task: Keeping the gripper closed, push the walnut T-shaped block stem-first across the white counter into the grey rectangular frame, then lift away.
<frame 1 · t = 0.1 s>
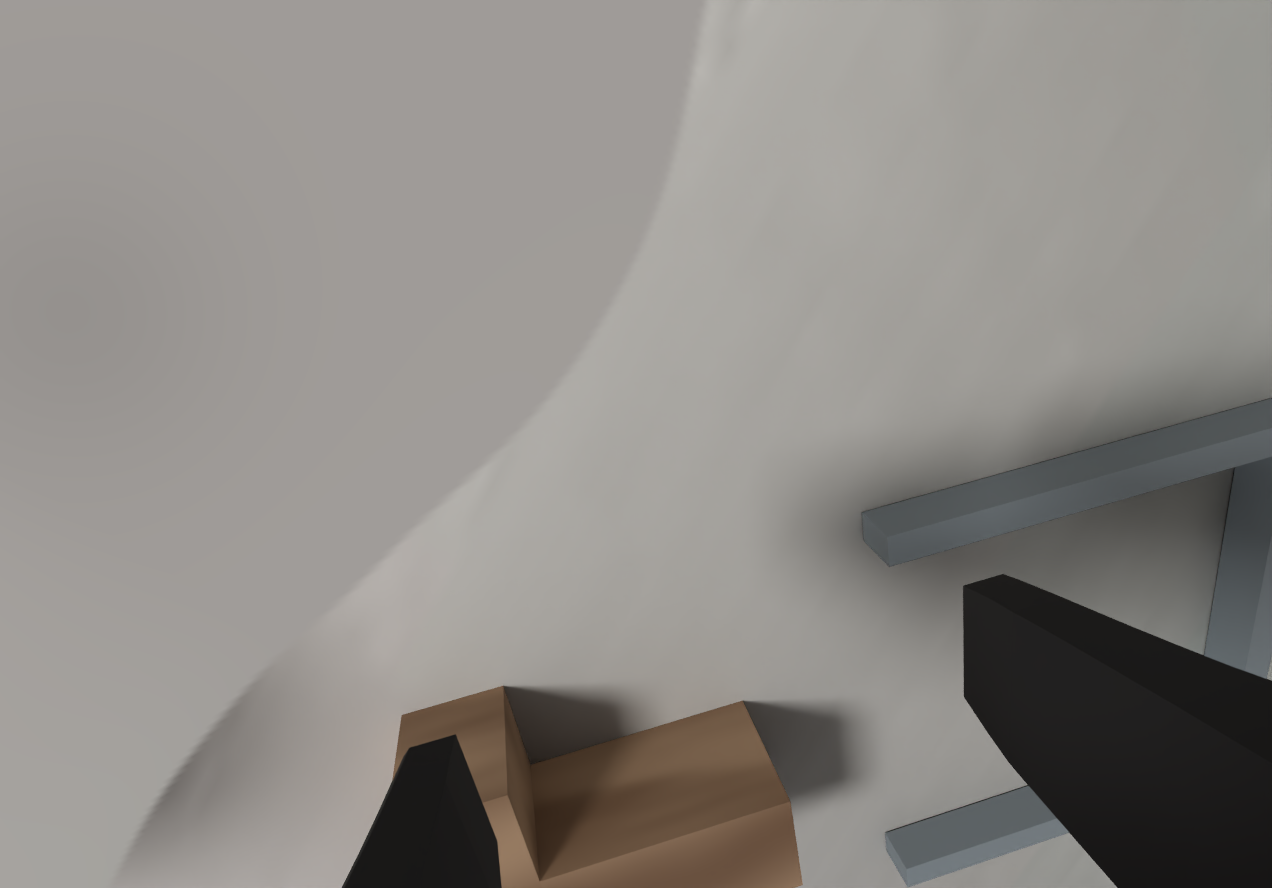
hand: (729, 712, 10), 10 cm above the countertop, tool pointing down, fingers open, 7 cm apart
t block: (603, 784, 24), on the countertop
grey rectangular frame: (1049, 648, 25), on the countertop
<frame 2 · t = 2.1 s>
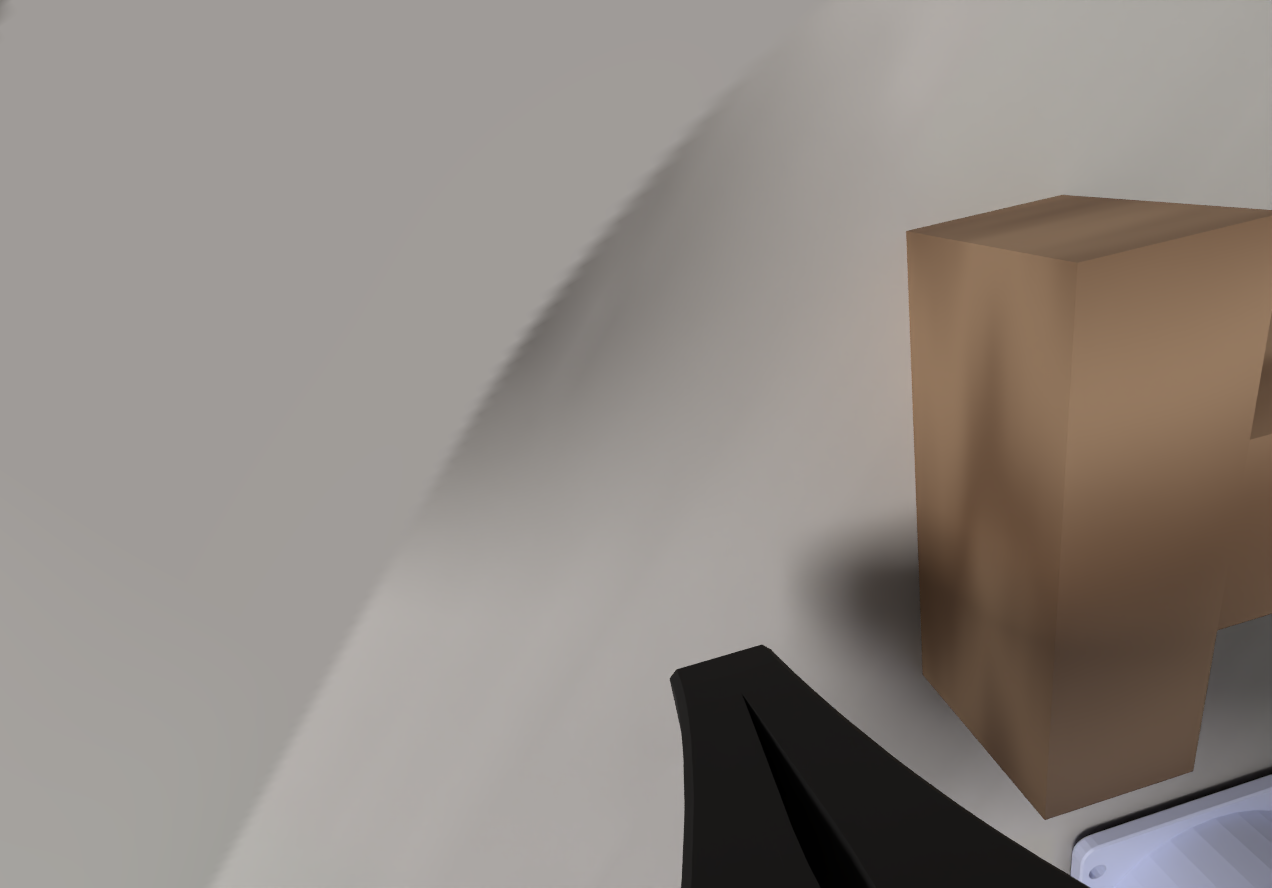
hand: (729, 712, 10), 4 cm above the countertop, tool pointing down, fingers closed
t block: (1136, 422, 15), on the countertop
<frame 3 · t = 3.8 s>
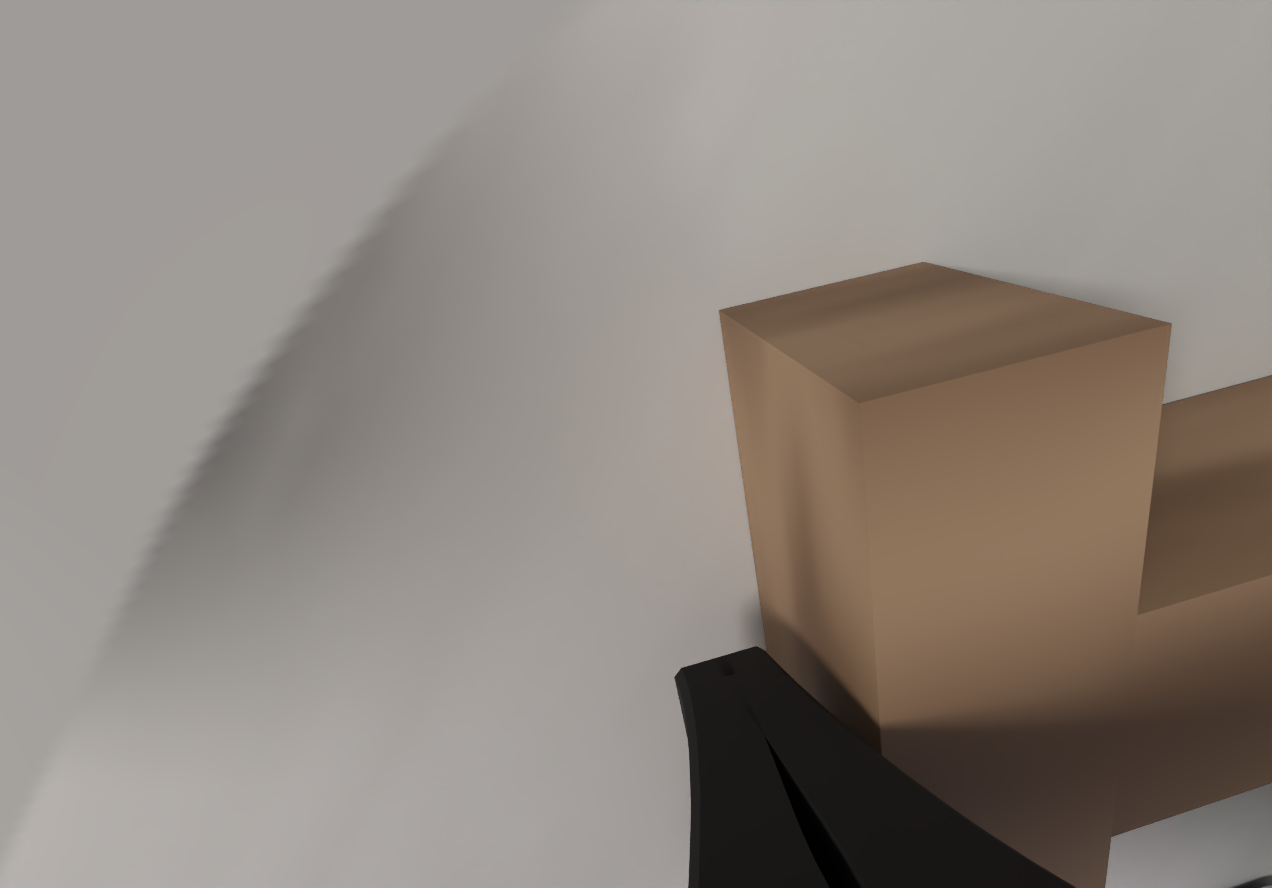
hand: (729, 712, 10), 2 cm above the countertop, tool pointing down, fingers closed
t block: (1038, 529, 12), on the countertop, touching gripper
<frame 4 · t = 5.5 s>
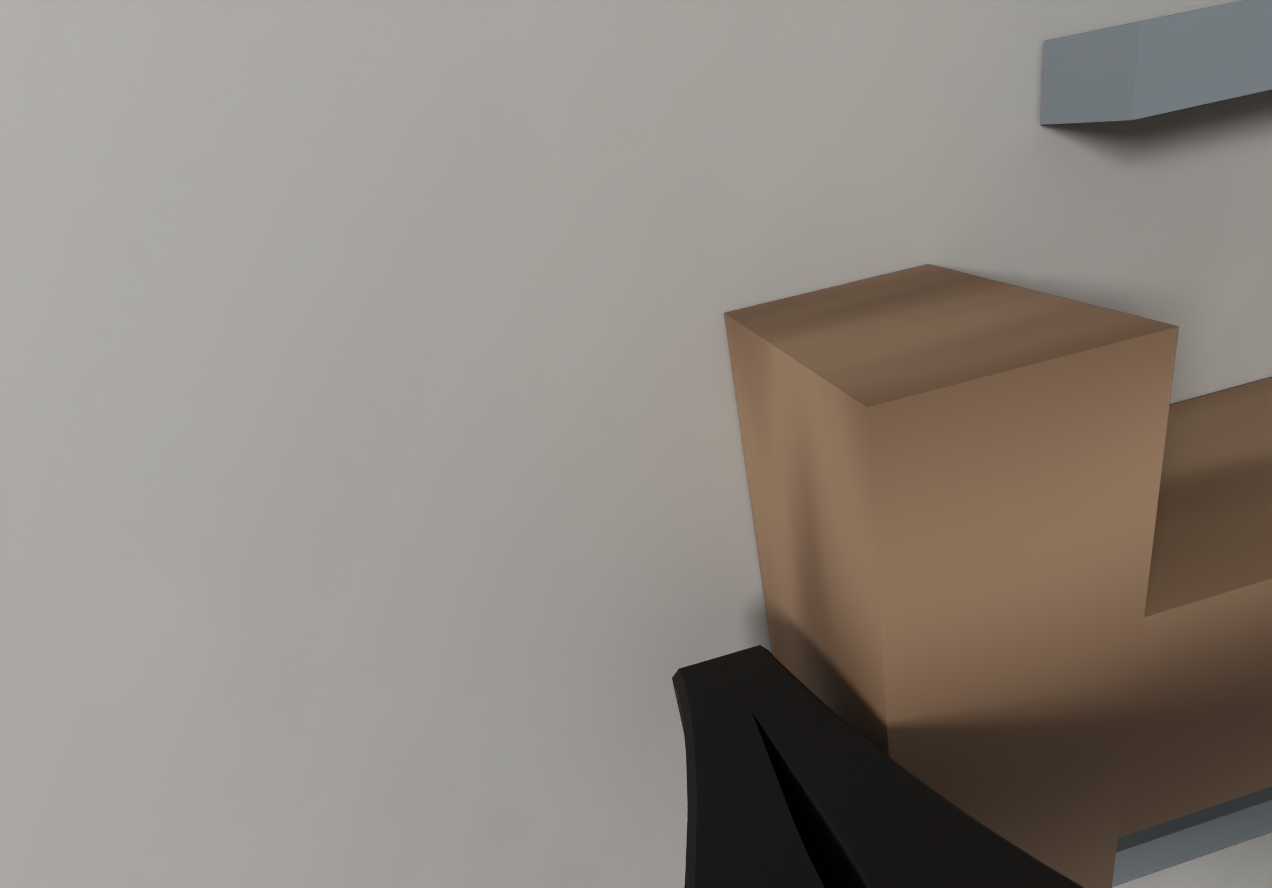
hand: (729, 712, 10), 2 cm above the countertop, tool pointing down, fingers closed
t block: (1043, 530, 12), on the countertop, touching gripper
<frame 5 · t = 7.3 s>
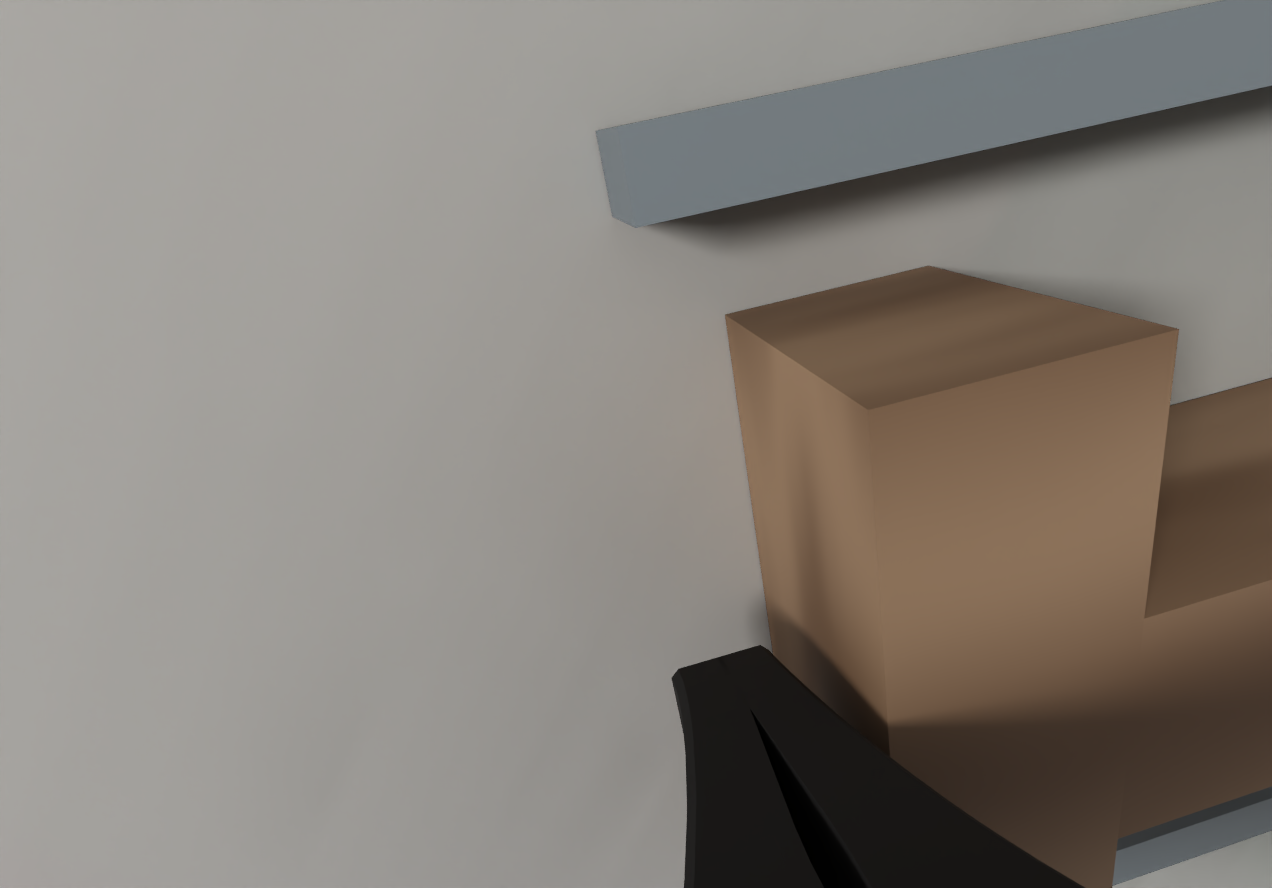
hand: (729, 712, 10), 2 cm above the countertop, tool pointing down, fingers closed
t block: (1043, 531, 12), on the countertop, touching gripper
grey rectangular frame: (1056, 525, 12), on the countertop
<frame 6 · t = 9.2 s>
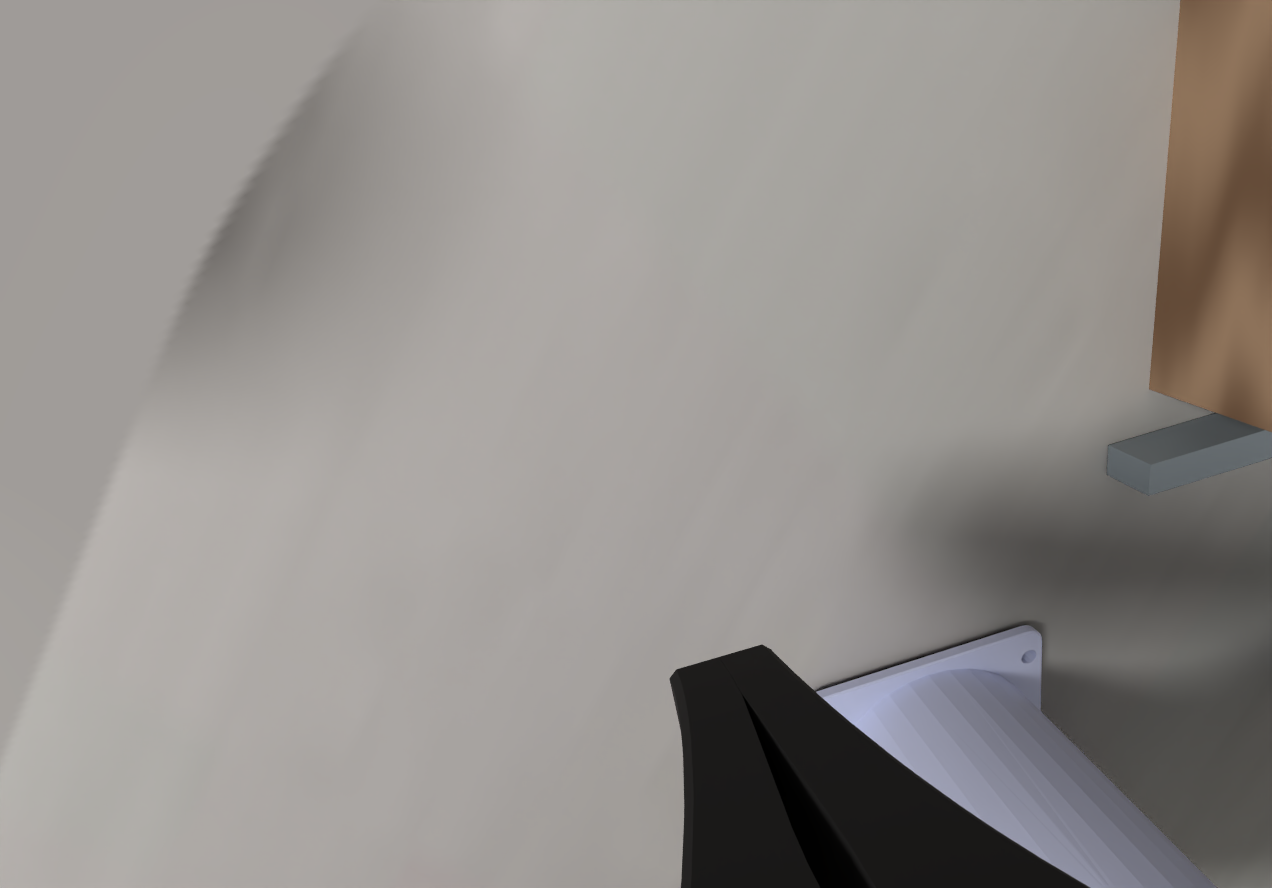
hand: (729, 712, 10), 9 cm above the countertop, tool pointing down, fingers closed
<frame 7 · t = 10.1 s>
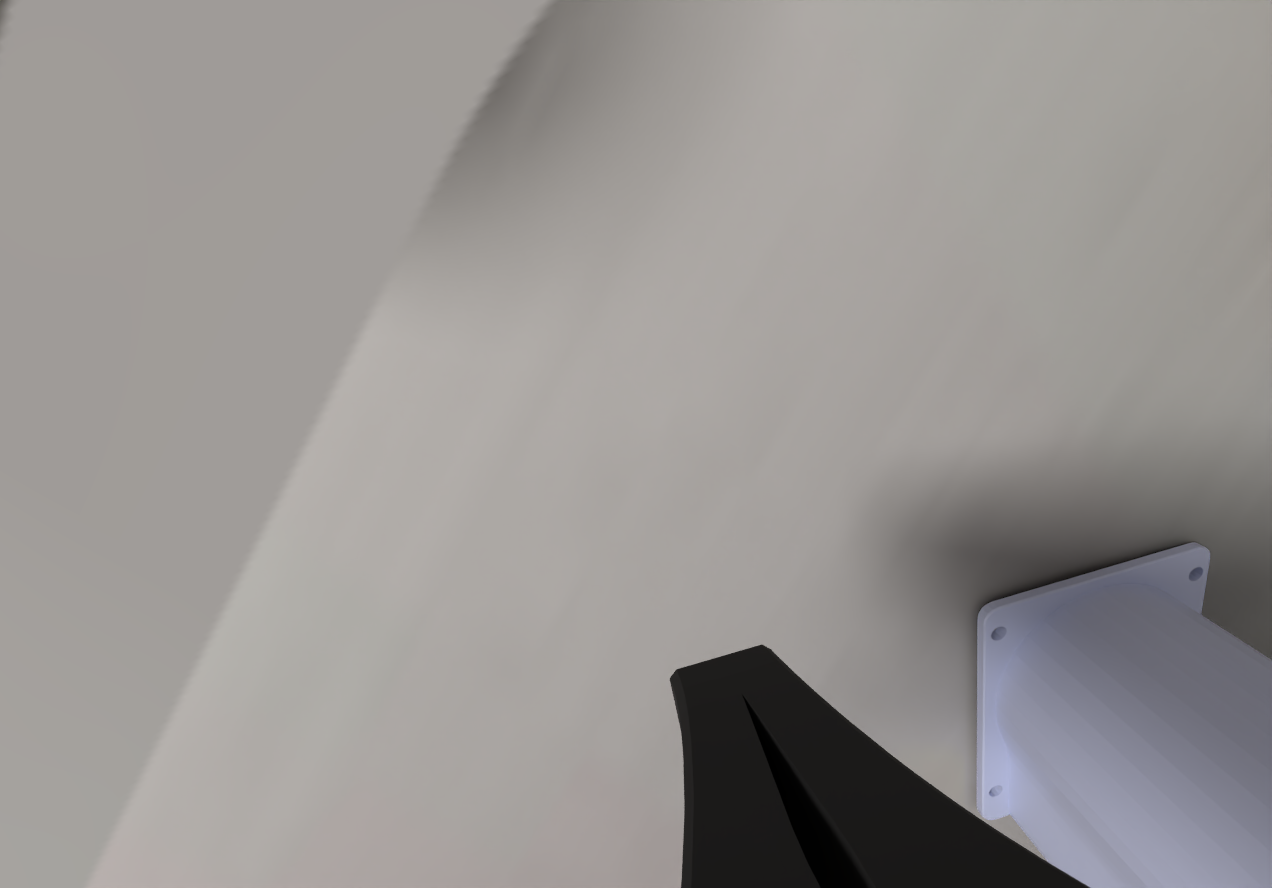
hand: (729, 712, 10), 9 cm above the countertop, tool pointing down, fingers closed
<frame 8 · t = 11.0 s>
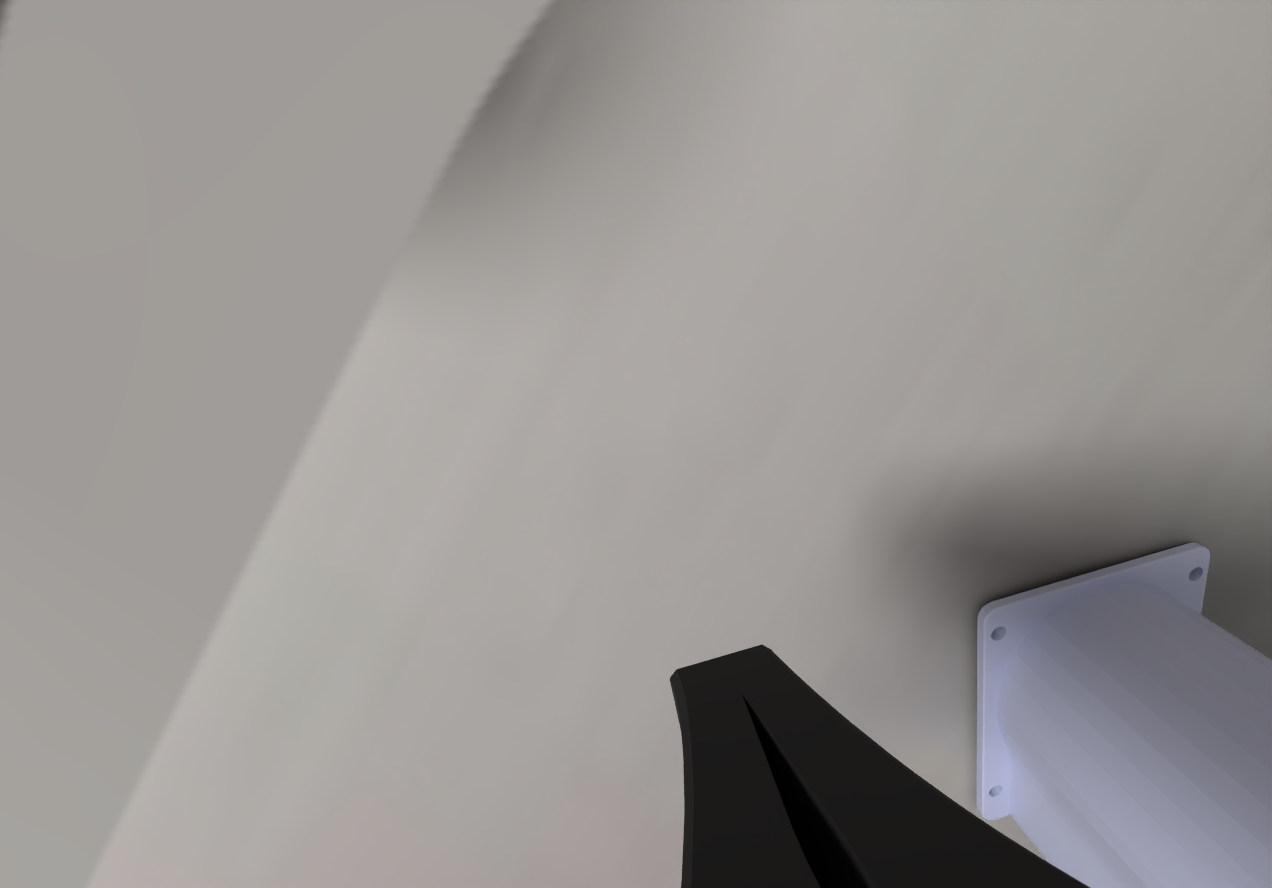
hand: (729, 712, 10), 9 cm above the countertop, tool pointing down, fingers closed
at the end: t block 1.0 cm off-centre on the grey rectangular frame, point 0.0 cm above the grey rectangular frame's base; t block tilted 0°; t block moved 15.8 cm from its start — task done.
